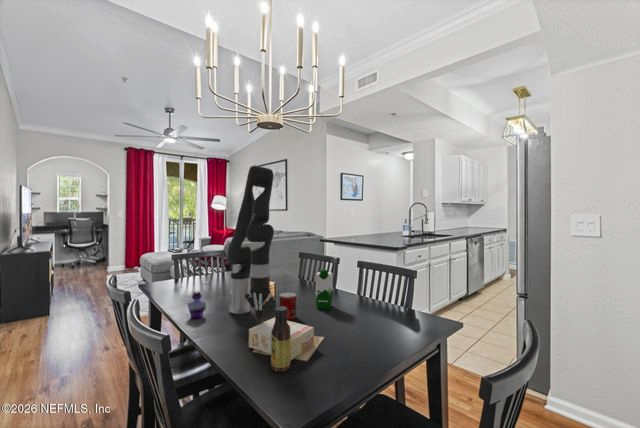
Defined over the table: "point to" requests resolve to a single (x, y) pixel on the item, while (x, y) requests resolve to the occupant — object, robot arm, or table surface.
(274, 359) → the sauce bottle
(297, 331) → the coffeecake box
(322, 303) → the milk carton
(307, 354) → the cork mat
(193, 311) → the potion bottle
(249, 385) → the table surface
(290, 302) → the canned food
